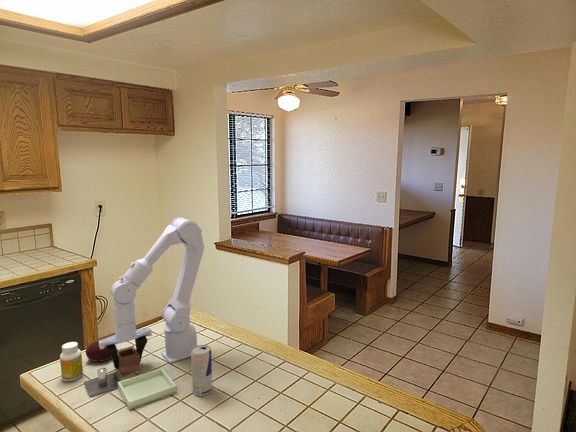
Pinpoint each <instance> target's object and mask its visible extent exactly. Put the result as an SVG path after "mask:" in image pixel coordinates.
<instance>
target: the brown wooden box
mask: <svg viewBox="0 0 576 432" xmlns="http://www.w3.org/2000/svg"><path fill="white" fill-rule="evenodd" d="M117 350H118V352H117V360H118V369H116V370H117V371H118V373H119V375H120V377H124V376H128V375H131V374H133V373H137V372H141V371H142V370H141V368H142V367H141V362H140V354H139V353H138V352H137V350H136V347H135V346H134V345H131V346H127V347H122V348H120V349H117Z"/></svg>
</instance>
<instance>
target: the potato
mask: <svg viewBox="0 0 576 432" xmlns="http://www.w3.org/2000/svg"><path fill="white" fill-rule="evenodd" d="M99 340H100V339H98V340H95V341H93V342H92V343H90V344H89V345H87V347H86V348H85V351H84V353H85V355H86V357H87V359H89V360H90V361H93V362H103V361H107V360H109V359H110V358H111V355H110V353H109V352H108V350H107V349H106V347H104V349H100V348H99ZM111 359H112V358H111Z"/></svg>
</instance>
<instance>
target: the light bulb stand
mask: <svg viewBox="0 0 576 432" xmlns="http://www.w3.org/2000/svg"><path fill="white" fill-rule="evenodd" d="M118 382H120V379H119V377H118V376H117V374H116V372H111V373H109V374H107V367H100V368H99V369H97V377H95V378H92V379H88V380H85V381H83V384H84V388H85V389H86V391H87V394H88V396H89V398H93V397H96V396H99V395H101V394H105V393H107V392H111V391H113V390H118Z"/></svg>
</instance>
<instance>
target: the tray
mask: <svg viewBox="0 0 576 432" xmlns="http://www.w3.org/2000/svg"><path fill="white" fill-rule="evenodd" d="M119 381H120V380H119ZM177 388H178V387H177V385H176V383H175V382H174V381H173V380H172V378H171V377H170V375H168V373H167V372H166V371H165V370H164V369H163V367H160V368H158V369H154V370H152V371H151V370H150V371H149V372H145V373H141V374H139V375H135V376H132V377H130V378H126V379H123V380H121V381H120V382H118V388H117V390H118V391H119V393H120V395H121V397H122V398H123V401H124V402H125V404H126V406H127V408H128V410H129V411H130V410H133V409H136V408H138V407H142V406H144V405H147V404H150V403H152V402H155V401H157V400H160V399H162V398H163V399H164V398H165V397H169V396H171V395H173V394H176V393H178V392H177V390H178V389H177Z"/></svg>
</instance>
